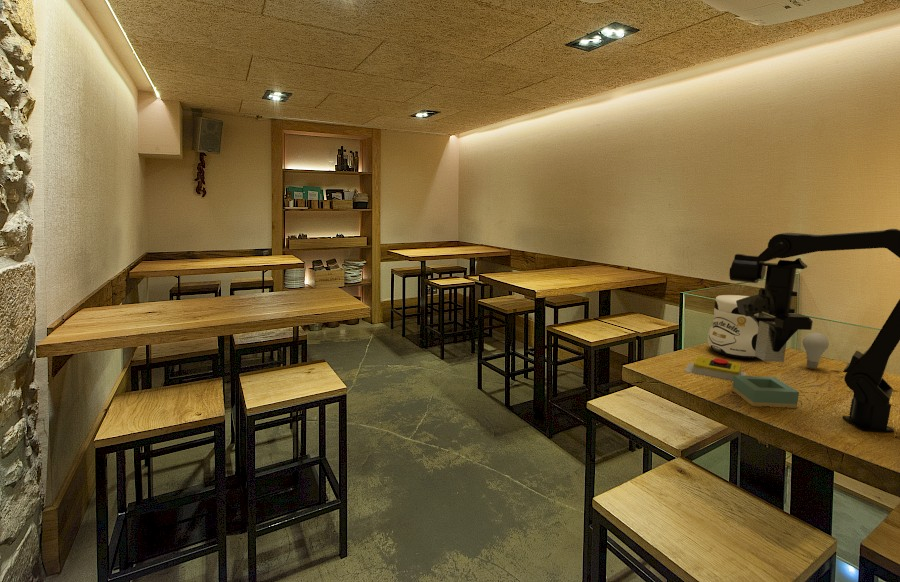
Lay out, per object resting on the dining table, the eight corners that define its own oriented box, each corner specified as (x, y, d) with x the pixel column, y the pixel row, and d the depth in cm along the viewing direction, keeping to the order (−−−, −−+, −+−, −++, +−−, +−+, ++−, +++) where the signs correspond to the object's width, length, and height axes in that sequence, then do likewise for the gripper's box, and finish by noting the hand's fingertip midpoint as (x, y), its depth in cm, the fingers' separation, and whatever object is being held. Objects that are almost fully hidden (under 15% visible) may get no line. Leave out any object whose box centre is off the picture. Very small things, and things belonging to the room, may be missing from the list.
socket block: (796, 408, 114) (799, 392, 114) (752, 406, 115) (754, 390, 114) (772, 391, 124) (774, 377, 123) (732, 390, 125) (734, 375, 124)
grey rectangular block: (783, 361, 115) (788, 325, 114) (764, 361, 116) (769, 325, 114) (773, 356, 120) (778, 321, 118) (754, 355, 120) (759, 320, 118)
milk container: (701, 354, 154) (707, 300, 151) (711, 342, 168) (717, 292, 164) (765, 366, 144) (773, 307, 140) (770, 352, 157) (778, 298, 154)
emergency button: (746, 369, 129) (685, 358, 138) (744, 385, 130) (683, 373, 138) (748, 360, 137) (690, 350, 145) (746, 375, 137) (688, 364, 146)
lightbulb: (828, 373, 138) (835, 336, 136) (805, 371, 140) (810, 334, 138) (817, 366, 144) (823, 330, 142) (794, 364, 146) (800, 329, 144)
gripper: (725, 278, 124) (718, 337, 127) (765, 292, 106) (756, 359, 109) (770, 279, 123) (762, 338, 126) (818, 293, 105) (808, 361, 108)
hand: (770, 348), depth 117 cm, fingers closed on grey rectangular block, 4 cm apart
